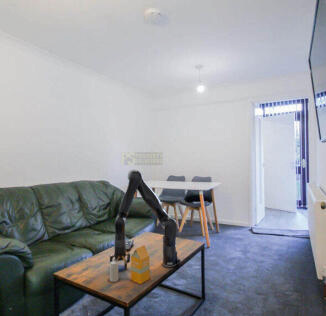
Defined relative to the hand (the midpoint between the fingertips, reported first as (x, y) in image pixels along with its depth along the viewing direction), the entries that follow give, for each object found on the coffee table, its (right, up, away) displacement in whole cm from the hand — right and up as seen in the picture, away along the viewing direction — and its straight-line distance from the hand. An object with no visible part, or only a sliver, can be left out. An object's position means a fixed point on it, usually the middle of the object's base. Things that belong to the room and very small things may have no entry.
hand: (119, 269), depth 165 cm
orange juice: (+14, 0, -14) cm, 20 cm away
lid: (0, +1, 0) cm, 2 cm away
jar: (-2, 0, -14) cm, 14 cm away
